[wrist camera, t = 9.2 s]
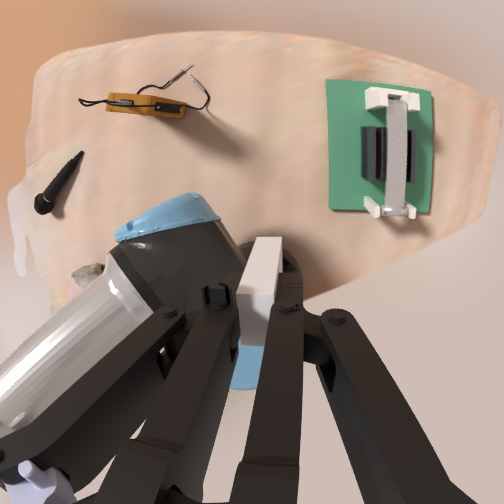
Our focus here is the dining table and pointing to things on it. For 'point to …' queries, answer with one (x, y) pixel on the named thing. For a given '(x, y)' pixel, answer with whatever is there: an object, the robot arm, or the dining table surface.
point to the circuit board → (349, 143)
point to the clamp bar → (395, 159)
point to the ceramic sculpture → (87, 274)
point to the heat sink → (383, 154)
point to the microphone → (54, 187)
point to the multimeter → (146, 102)
